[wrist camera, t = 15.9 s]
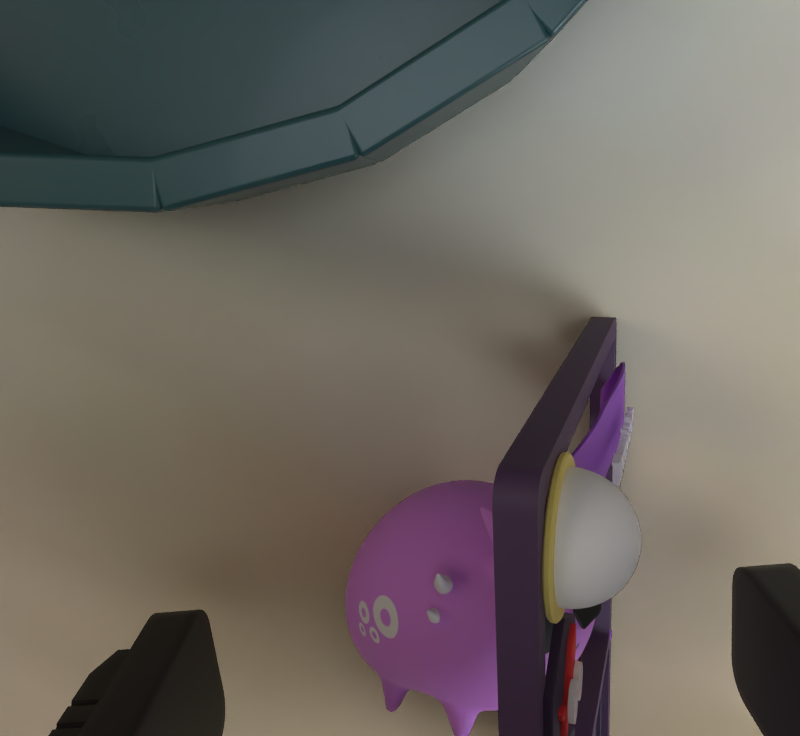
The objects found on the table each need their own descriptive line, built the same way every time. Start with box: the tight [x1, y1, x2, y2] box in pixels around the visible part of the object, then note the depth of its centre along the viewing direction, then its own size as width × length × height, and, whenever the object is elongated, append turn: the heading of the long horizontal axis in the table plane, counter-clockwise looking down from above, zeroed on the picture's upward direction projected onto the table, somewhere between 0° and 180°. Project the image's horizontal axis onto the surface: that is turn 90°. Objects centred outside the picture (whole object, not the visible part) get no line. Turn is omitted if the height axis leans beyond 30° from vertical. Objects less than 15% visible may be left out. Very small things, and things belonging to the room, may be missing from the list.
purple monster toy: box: [345, 317, 641, 736], centre depth 11 cm, size 7×5×9 cm
